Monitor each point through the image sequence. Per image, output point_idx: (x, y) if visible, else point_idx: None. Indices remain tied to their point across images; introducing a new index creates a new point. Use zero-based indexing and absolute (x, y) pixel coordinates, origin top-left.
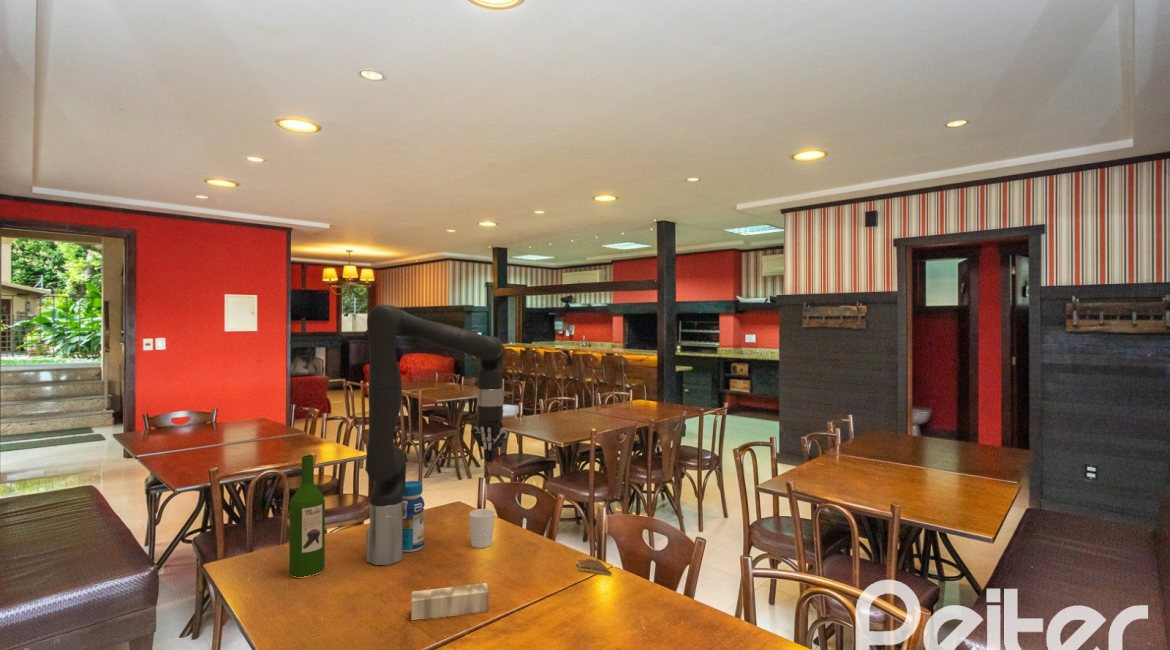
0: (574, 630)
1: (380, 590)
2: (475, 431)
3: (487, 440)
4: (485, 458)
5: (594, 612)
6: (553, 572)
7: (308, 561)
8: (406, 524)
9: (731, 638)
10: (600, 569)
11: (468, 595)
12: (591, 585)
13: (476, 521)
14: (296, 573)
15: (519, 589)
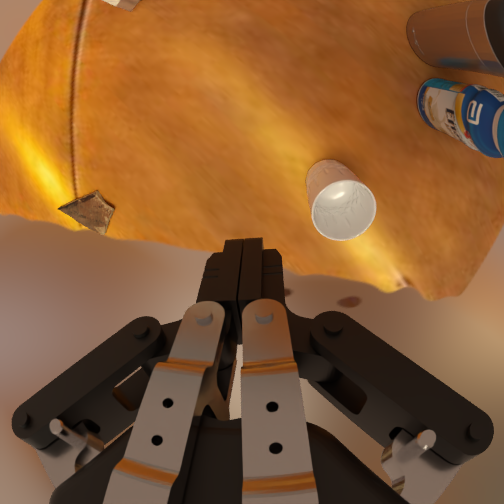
0: (9, 69)
1: None
2: (439, 446)
3: (200, 378)
4: (271, 255)
5: (16, 114)
6: (119, 160)
7: None
8: (462, 85)
9: None
10: (72, 207)
11: None
12: (56, 165)
13: (336, 177)
14: None
15: (116, 75)
